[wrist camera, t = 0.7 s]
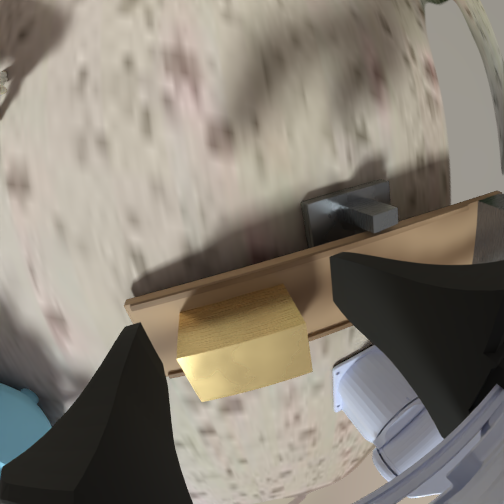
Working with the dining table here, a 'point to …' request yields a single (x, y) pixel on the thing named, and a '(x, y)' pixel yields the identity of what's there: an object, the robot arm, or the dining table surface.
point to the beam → (319, 274)
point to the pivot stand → (348, 213)
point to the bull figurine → (3, 82)
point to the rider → (243, 343)
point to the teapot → (19, 422)
